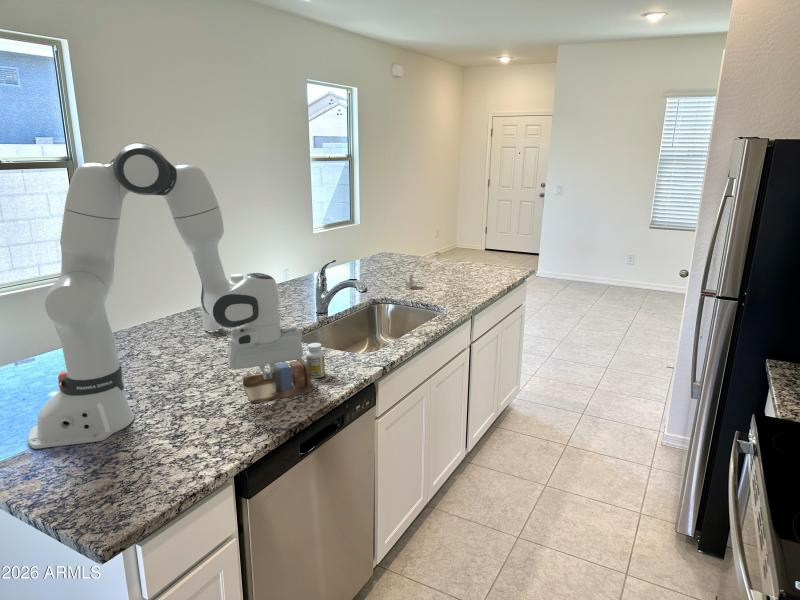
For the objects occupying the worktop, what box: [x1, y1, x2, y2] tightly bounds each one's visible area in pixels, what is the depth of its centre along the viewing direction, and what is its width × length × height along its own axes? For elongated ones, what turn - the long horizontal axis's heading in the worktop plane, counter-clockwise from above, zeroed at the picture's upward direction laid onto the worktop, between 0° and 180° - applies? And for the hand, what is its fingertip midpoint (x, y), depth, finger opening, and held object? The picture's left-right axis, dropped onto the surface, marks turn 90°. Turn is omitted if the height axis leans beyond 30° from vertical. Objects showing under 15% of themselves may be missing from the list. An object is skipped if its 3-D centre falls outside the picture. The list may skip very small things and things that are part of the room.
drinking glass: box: [199, 304, 221, 332], centre depth 202 cm, size 7×7×10 cm
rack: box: [241, 357, 313, 404], centre depth 152 cm, size 17×12×7 cm
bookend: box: [271, 363, 282, 392], centre depth 151 cm, size 2×6×6 cm, turn 26°
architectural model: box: [402, 273, 414, 289], centre depth 265 cm, size 3×7×7 cm, turn 163°
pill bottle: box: [228, 273, 244, 286], centre depth 228 cm, size 8×8×15 cm
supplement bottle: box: [305, 342, 326, 379], centre depth 162 cm, size 5×5×10 cm
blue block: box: [275, 362, 292, 391], centre depth 152 cm, size 3×6×6 cm, turn 26°
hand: (267, 378), depth 150 cm, fingers closed
